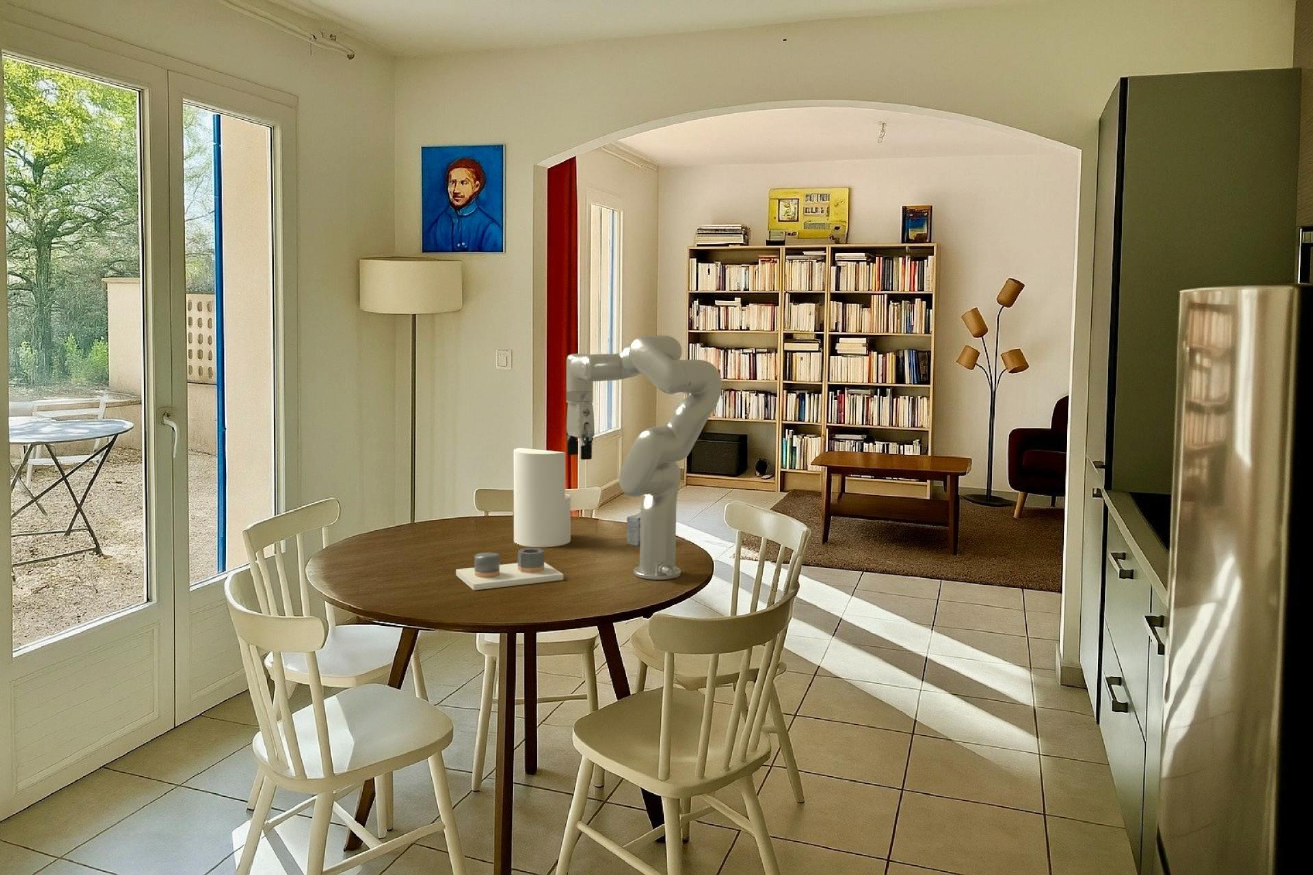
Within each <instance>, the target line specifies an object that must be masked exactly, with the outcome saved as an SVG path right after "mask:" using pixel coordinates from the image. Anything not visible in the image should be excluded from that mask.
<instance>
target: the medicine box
mask: <svg viewBox="0 0 1313 875" xmlns="http://www.w3.org/2000/svg"><path fill="white" fill-rule="evenodd" d="M626 544H627V545H629V546H636V547H640V513H637V514H634V515H629V516H627V517H626Z"/></svg>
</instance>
